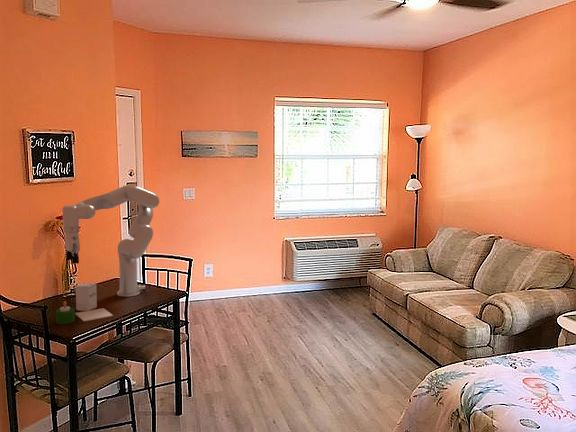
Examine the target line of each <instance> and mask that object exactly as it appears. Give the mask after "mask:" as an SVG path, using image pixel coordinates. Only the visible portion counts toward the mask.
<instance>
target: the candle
mask: <svg viewBox="0 0 576 432" xmlns="http://www.w3.org/2000/svg"><path fill="white" fill-rule="evenodd" d="M67 304H68V302H67V301H66V300H65V301H63V302H62V305H63V306H61V307H60V308H57V309H56V310H55V323H56V324H58V325H69V324H71V323H72V324H73V323H74V322H75V321H76V314H75V313H76V312H75V311H76V310H75V308H73V307H70V306H67Z"/></svg>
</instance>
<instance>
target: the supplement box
mask: <svg viewBox="0 0 576 432" xmlns="http://www.w3.org/2000/svg"><path fill="white" fill-rule="evenodd" d="M97 297H98V295H97V283H90V282H89V283H88V282H87V283H86V282H85V283H81V284H79V285H75V303H76V305H75V306H76V307H75V308H76V310H75V311H81V312H84V311H90V310H95V309H96V308H97V307H98V303H97V302H98V301H97Z"/></svg>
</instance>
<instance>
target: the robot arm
mask: <svg viewBox="0 0 576 432" xmlns="http://www.w3.org/2000/svg"><path fill="white" fill-rule="evenodd" d="M129 201H131V202H134V203H136V204H137V207H138V212H137V214H136V217H135V218H134V220H133V221H132V224H131V226H130V227H129V229H128V234H129V236H130V238H132V239H130V238H125V239H122V240H121V241H119V242H118V245H117V253H118V263H119V290H118V291H117V292H116V295H117V296H118V297H124V298H126V297H136V296H138V295H140V293H141V290H145V289H146V285H145V284H143V285H138V262H137V259H140V258H141V257H142V256H143V255H144V254H145V253H146V250H147V248H148V247H149V245H150V243H151V241H152V240H153V236H154V229H153V228H152V226H151V225H150V224H151V222H152V220H153V216H154V210H153V209H154V208H157V207H158V206H159V204H160V198H159V196H158V195H157V194H155V193H153V192H151V191H149V190H146V189H144V188H142V187H139V186H137V185H131V184H129V185H128V184H126V185H123V186H121V187H117V188H116V189H114V190H112V191H109V192H106V193H103V194H100V195H97V196H92V197H89V198H86V199H85V200H82V201H79V202H78V203H76V204H75V205H73V204H71V205H69V204H68V205H64V206H63V207H62V209H61V211H62V227H63V228H62V230H63V231H62V232H63V234H64V235H65V238H64V245H65V246H64V247H65V249H66V251H65V253H66V260H67V261H71V264H73V265H74V264H79V263H80V256H79V252H80V251H81V245H80V243H81V242H80V235H79V232H80V220H90V219H92V218H94V217H95V215H96V211H99V210H109V209H113V208H116V207H117V206H121V205H122V204H125V203H127V202H129Z"/></svg>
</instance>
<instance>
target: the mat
mask: <svg viewBox="0 0 576 432" xmlns="http://www.w3.org/2000/svg"><path fill="white" fill-rule="evenodd" d="M75 316H76V317H78V318H79V319H80V320H81V321H82V322H88V321H93V320H99V319H105V318H110V317H113V316H114V315H113V314H112V313H111V312H109V311H108V310H107V309H106V308H104V307H102V308H97V309H96V308H95V309H91V310H89V311H80V312H75Z"/></svg>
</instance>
